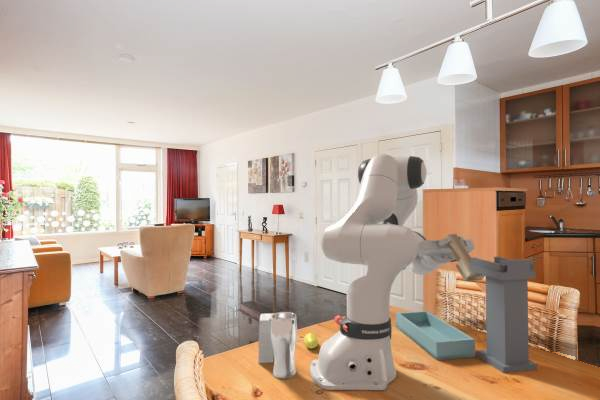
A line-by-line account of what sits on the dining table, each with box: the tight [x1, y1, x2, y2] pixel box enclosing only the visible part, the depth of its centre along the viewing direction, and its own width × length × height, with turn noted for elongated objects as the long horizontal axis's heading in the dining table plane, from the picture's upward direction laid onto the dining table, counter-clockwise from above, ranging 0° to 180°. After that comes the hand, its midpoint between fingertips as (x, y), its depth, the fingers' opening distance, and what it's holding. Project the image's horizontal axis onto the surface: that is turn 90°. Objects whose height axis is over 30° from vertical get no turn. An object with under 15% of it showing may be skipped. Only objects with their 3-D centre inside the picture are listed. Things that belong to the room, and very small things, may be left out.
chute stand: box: [469, 256, 538, 374], centre depth 95 cm, size 10×13×29 cm
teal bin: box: [395, 310, 476, 361], centre depth 109 cm, size 12×26×5 cm, turn 9°
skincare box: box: [258, 312, 275, 364], centre depth 97 cm, size 6×4×12 cm
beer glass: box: [271, 311, 298, 380], centre depth 88 cm, size 7×7×15 cm
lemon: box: [303, 332, 319, 350], centre depth 105 cm, size 4×8×4 cm, turn 1°
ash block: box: [446, 233, 486, 282], centre depth 111 cm, size 6×17×4 cm
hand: (455, 238), depth 115 cm, fingers open, 3 cm apart
